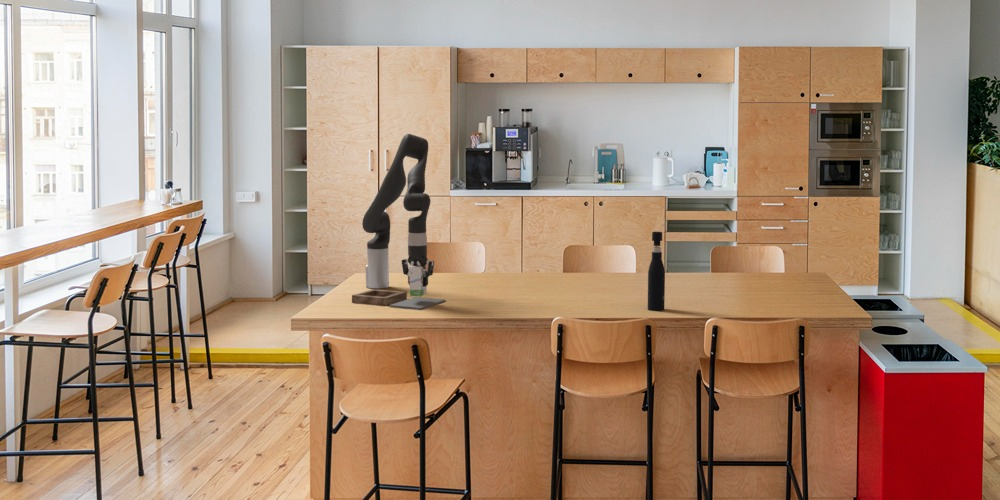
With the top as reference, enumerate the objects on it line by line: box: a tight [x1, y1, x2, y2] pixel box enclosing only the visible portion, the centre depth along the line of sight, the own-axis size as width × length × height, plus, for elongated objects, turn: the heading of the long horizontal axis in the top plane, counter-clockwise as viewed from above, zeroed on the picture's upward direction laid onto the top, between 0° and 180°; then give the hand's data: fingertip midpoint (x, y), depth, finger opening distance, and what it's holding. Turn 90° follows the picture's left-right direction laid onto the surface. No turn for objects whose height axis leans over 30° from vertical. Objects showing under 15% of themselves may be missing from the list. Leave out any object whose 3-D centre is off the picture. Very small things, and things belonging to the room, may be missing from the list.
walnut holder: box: [351, 288, 408, 306], centre depth 421 cm, size 16×16×3 cm
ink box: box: [408, 265, 428, 297], centre depth 412 cm, size 8×5×12 cm, turn 169°
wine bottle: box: [647, 231, 666, 312], centre depth 399 cm, size 6×6×30 cm
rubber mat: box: [389, 296, 447, 311], centre depth 414 cm, size 14×20×1 cm
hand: (418, 285), depth 413 cm, fingers closed on ink box, 5 cm apart
